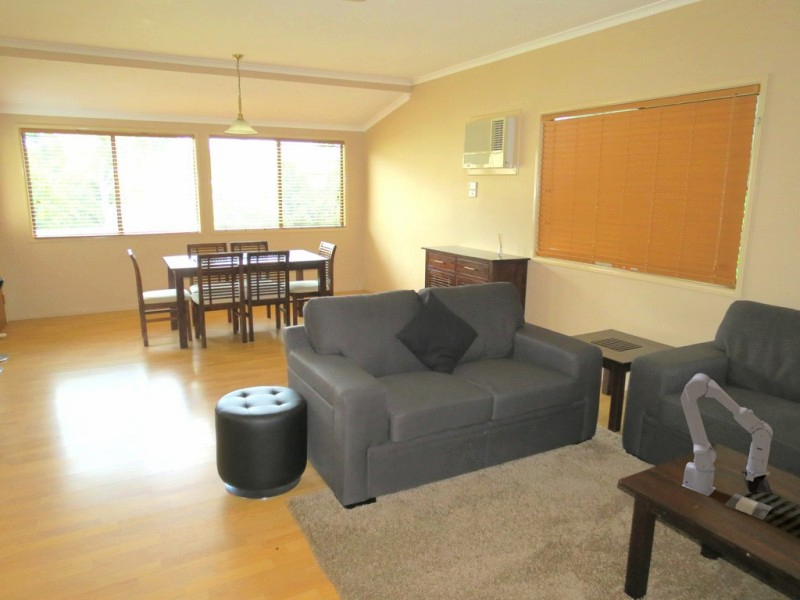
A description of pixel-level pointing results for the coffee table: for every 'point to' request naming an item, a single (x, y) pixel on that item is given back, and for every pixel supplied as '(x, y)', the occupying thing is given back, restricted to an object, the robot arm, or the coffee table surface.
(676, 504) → the coffee table surface
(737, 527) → the coffee table surface
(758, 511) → the mat
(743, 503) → the tile
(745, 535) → the coffee table surface
